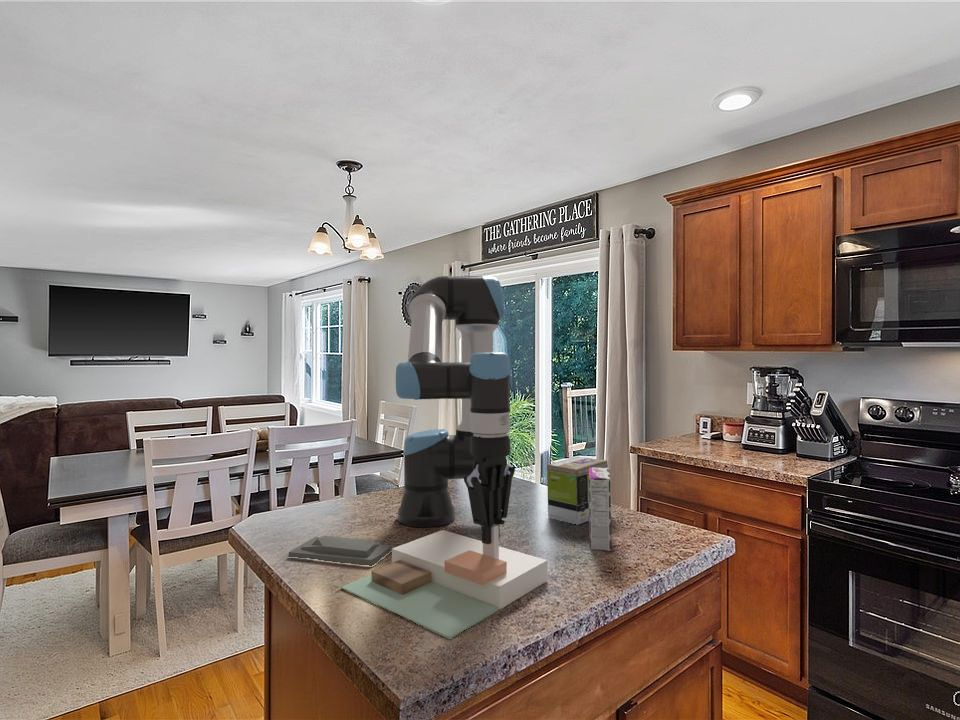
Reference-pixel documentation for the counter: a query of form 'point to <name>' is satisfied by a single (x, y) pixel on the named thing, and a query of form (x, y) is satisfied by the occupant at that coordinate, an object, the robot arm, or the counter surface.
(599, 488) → the candy bar box
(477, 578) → the terracotta tile
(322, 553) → the soap mold
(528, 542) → the counter surface
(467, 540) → the white flat block
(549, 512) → the tea box
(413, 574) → the walnut tile
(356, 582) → the mat
